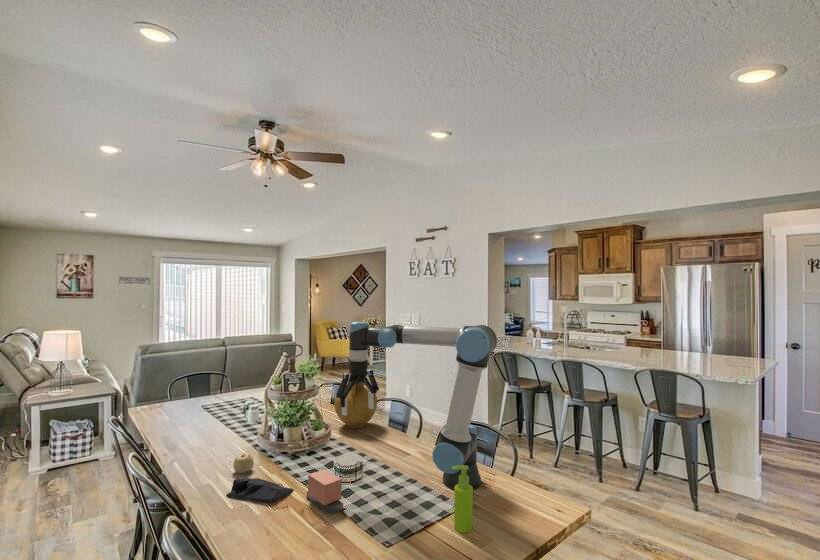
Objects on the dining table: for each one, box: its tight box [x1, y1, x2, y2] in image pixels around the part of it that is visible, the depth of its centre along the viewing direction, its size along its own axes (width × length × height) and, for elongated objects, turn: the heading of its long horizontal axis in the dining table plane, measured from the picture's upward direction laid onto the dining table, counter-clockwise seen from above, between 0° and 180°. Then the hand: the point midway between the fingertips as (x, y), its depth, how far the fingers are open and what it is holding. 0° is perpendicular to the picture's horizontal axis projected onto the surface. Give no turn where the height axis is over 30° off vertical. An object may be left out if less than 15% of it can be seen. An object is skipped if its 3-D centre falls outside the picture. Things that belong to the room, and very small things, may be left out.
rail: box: [306, 490, 344, 515], centre depth 156 cm, size 16×5×2 cm, turn 43°
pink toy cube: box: [307, 468, 343, 505], centre depth 156 cm, size 11×7×10 cm, turn 43°
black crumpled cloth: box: [226, 477, 294, 504], centre depth 163 cm, size 15×22×5 cm
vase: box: [333, 370, 378, 429], centre depth 240 cm, size 24×24×30 cm
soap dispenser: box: [452, 465, 474, 534], centre depth 141 cm, size 6×7×20 cm
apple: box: [232, 452, 255, 474], centre depth 181 cm, size 8×8×8 cm
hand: (358, 411), depth 177 cm, fingers open, 13 cm apart
